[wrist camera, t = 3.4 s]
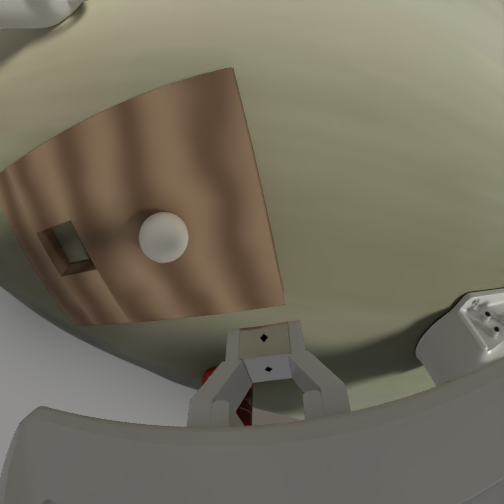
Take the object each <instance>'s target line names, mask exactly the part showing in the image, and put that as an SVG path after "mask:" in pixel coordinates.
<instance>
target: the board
mask: <svg viewBox="0 0 504 504" xmlns="http://www.w3.org/2000/svg"><path fill="white" fill-rule="evenodd" d="M0 205H1V207H2V209H3V211H4V213H5V215H6V218H7V220H8V222H9V224H10V226H11V228H12V230H13V232H14V233H15V235H16V237H17V239H18V241H19V243H20V245H21V246H22V248H23V250H24V252H25V254H26V255H27V257H28V259H29V260H30V262H31V264H32V265H33V267H34V269H35V270H36V272H37V274H38V275H39V277H40V278H41V280H42V281H43V283H44V284H45V286H46V288H47V289H48V290H49V292H50V293H51V295H52V296H53V298H54V299H55V301H56V302H57V303H58V305H59V306H60V308H61V309H62V310H63V312H64V313H65V314H66V316H67V317H68V318H69V320H70V321H71V322H72V324H73V325H74V326H79V325H99V324H116V323H130V322H143V321H155V320H166V319H177V318H187V317H196V316H205V315H213V314H222V313H230V312H237V311H245V310H252V309H259V308H266V307H273V306H280V305H285V303H284V292H283V285H282V280H281V275H280V270H279V265H278V261H277V256H276V251H275V246H274V242H273V237H272V232H271V227H270V223H269V218H268V214H267V209H266V204H265V200H264V195H263V191H262V186H261V182H260V178H259V173H258V169H257V164H256V160H255V156H254V151H253V147H252V143H251V138H250V134H249V130H248V126H247V122H246V117H245V113H244V109H243V105H242V101H241V97H240V93H239V89H238V85H237V81H236V77H235V73H234V69H233V68H231V67H230V68H225V69H221V70H217V71H214V72H210V73H206V74H202V75H199V76H195V77H192V78H189V79H186V80H182V81H179V82H176V83H173V84H170V85H167V86H164V87H161V88H159V89H156V90H153V91H150V92H148V93H145V94H143V95H140V96H138V97H135V98H133V99H130V100H128V101H125V102H123V103H121V104H118V105H116V106H114V107H112V108H109V109H107V110H105V111H103V112H101V113H99V114H97V115H95V116H93V117H91V118H89V119H87V120H85V121H83V122H81V123H79V124H77V125H75V126H73V127H71V128H70V129H68V130H66V131H64V132H62V133H61V134H59V135H57V136H55V137H54V138H52V139H50V140H49V141H47V142H45V143H44V144H42V145H41V146H39V147H37V148H36V149H34V150H33V151H31V152H30V153H28V154H27V155H25V156H24V157H22V158H21V159H19V160H18V161H17V162H15V163H14V164H12V165H11V166H10V167H8V168H7V169H5V170H4V171H3V172H1V173H0ZM158 212H169V213H173V214H175V215H177V216H178V217H179V218H181V219H182V221H183V222H184V223H185V225H186V227H187V230H188V236H189V239H188V244H187V247H186V249H185V251H184V253H183V254H182V255H181V256H180V257H179V258H177V259H176V260H174V261H171V262H167V263H159V262H156V261H153V260H151V259H150V258H148V257H147V256H146V255H145V254H144V252H143V251H142V249H141V247H140V243H139V232H140V228H141V226H142V224H143V223H144V221H145V220H146V219H147V218H148V217H150V216H151V215H153V214H155V213H158ZM70 220H71V222H72V224H73V226H74V228H75V230H76V232H77V234H78V236H79V238H80V240H81V241H82V243H83V245H84V247H85V249H86V251H87V253H88V254H89V256H90V258H91V259H89V260H85V261H80V262H76V263H72V264H70V262H69V260H68V258H67V257H66V255H65V253H64V251H63V250H62V248H61V246H60V244H59V242H58V240H57V239H56V237H55V235H54V233H53V231H52V229H51V227H54V226H56V225H59V224H62V223H65V222H67V221H70Z"/></svg>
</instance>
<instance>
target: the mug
mask: <svg viewBox="0 0 504 504" xmlns="http://www.w3.org/2000/svg"><path fill="white" fill-rule="evenodd" d="M83 1H87V0H0V29H16V28H31V29H36V28H47V27H51V26H53V25H56V24H58V23H59V22H61V21H63V20H64V19H66V18H67V17H68V16H70V15H71V14H72V13H73V12H74V11H75V10H76V9H77V8H78V7H79V6H80V4H81V3H82V2H83Z"/></svg>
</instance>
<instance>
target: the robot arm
mask: <svg viewBox="0 0 504 504" xmlns="http://www.w3.org/2000/svg"><path fill="white" fill-rule="evenodd" d="M416 357H417V358H418V360H419V361H420V362H421V363H422V364H423V366H424V367H425V368H426V370H427V371H428V373H429V374H430V376H431V378H432V379H433V381H434V383H435V385H436V387H434V388H431V389H428V390H426V391H423V392H420V393H417V394H414V395H411V396H408V397H404V398H401V399H398V400H395V401H391V402H388V403H384V404H380V405H376V406H373V407H369V408H365V409H360V410H356V411H351V409H350V404H349V399H348V395H347V390H346V385H345V383H344V382H342V381H341V380H340V379H339V378H338V377H337V376H336V375H335V374H334V373H332V372H331V371H330V370H329V369H328V368H327V367H326V366H325V365H324V364H323V363H322V362H320V361H319V360H318V359H317V358H316V357H315V356H314V355H313V354H312V353H311V352H310V351H305V346H304V340H303V333H302V327H301V321H300V320H296V321H290V322H283V323H277V324H271V325H264V326H259V327H250V328H241V329H232V330H229V331H228V333H227V345H226V358H225V361H224V362H221V364H220V365H219V366H218V367H217V368H216V370H215V371H214V372H213V373H212V375H211V376H210V377H209V378H208V379H207V381H206V382H205V383H204V384H203V386H202V387H201V388H200V389H199V390H198V392H197V393H196V394H195V395H194V396H193V398H192V399H191V400H190V405H189V413H188V420H187V427H174V426H158V425H145V424H135V423H127V422H119V421H112V420H106V419H99V418H94V417H88V416H83V415H78V414H73V413H68V412H65V411H60V410H56V409H52V408H49V407H45V406H40V407H38V408H36V409H35V410H33V411H32V412H31V413H30V414H29V415H28V416H27V417H25V418H24V419H23V420H22V421H21V422H20V424H19V426H18V427H17V429H16V431H15V433H14V436H13V439H12V441H11V444H10V447H9V450H8V452H7V455H6V459H5V462H4V465H3V469H2V473H1V477H0V504H504V288H502V289H495V290H487V291H480V292H472V293H468V294H466V295H465V296H464V297H463V298H462V299H461V300H460V301H459V302H458V303H457V305H456V306H455V307H454V308H453V309H452V310H451V311H450V312H448V313H447V314H446V315H444V316H443V317H442V318H440V319H439V320H438V321H437V322H436V323H435V324H433V325H432V326H431V327H430V328H429V329H428V330H427V332H426V333H425V334H424V335H423V337H422V338H421V339H420V341H419V343H418V345H417V347H416ZM289 378H292V379H293V381H294V382H295V383H296V384H297V385H298V386H299V388H300V389H301V390H302V391H303V392H304V394H303V404H304V415H305V420H301V421H294V422H286V423H278V424H266V425H254V426H244V424H243V423H242V421H241V420H240V418H239V417H238V415H237V414H236V410H237V408H238V407H239V405H240V404H241V402H242V400H243V399H244V397H245V396H246V394H247V392H248V391H249V389H250V387H251V386H252V383H256V382H263V381H270V380H280V379H289Z"/></svg>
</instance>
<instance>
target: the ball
mask: <svg viewBox="0 0 504 504" xmlns="http://www.w3.org/2000/svg"><path fill="white" fill-rule="evenodd" d="M188 239H189V236H188V230H187V227H186V225H185V223H184V222H183V221H182V219H181V218H179V217H178V216H177V215H175V214H173V213H169V212H158V213H155V214H153V215H151V216H150V217H148V218H147V219H146V220H145V221H144V223H143V224H142V226H141V228H140V232H139V243H140V247H141V249H142V251H143V252H144V254H145V255H146V256H147V257H148V258H150V259H151V260H153V261H156V262H159V263H167V262H171V261H174V260H176V259H177V258H179V257H180V256H181V255H182V254H183V253H184V251H185V249H186V247H187V244H188Z"/></svg>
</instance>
